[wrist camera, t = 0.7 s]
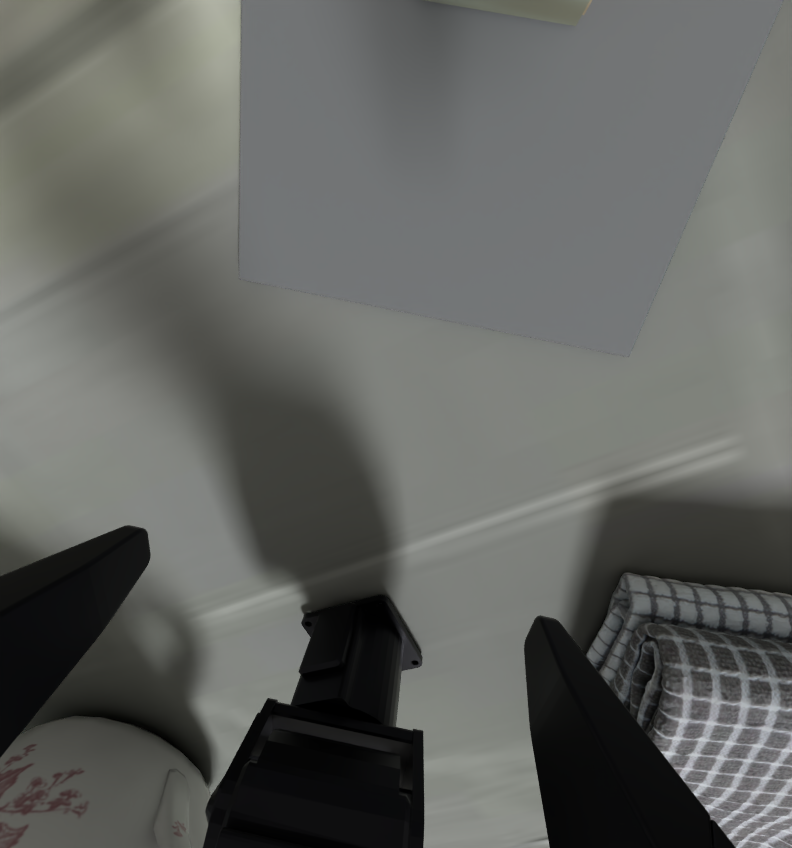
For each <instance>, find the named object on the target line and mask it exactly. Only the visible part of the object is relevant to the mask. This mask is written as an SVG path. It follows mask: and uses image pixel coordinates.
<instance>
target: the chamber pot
mask: <svg viewBox="0 0 792 848" xmlns="http://www.w3.org/2000/svg"><path fill="white" fill-rule="evenodd" d="M210 797H211V796H210V791H209V787H208V785H207V783H206V782H205V780H204V778H203V776H202V774H201V772H200V771H199V770H198V769H197V768H196V767H195V766H194V765H193V764H192V763H191V762H190V761H189V760H188V759H187V757H186V756H185V755H184V754H183V753H181V752H180V751H179V750H178V749H177V748H176V747H175V746H173V745H172V744H170V743H169V742H167V741H166V740H164V739H163V738H161V737H160V736H158V735H157V734H155V733H152V732H150V731H148V730H146V729H143V728H141V727H139V726H137V725H133V724H129V723H125V722H121V721H117V720H112V719H107V718H101V717H85V716H71V717H66V718H62V719H57V720H53V721H50V722H47V723H44V724H41V725H38V726H36V727H34V728H32V729H30V730H28V731H26V732H24V733H22V734H20V735H19V736H18V737H17V738H16V739H15V740H14V742H13V743H12V744H11V745H10V747H9V748H8V749H7V750H6V752H5V753H4V754H3V755H2V756H1V758H0V848H203V845H204V841H205V836H206V832H207V828H208V822H207V818H206V814H205V810H206V806H207V803H208V801H209V799H210Z"/></svg>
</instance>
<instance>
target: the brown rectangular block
mask: <svg viewBox="0 0 792 848" xmlns="http://www.w3.org/2000/svg"><path fill="white" fill-rule="evenodd" d="M424 1H430V2H436V3H442V4H448V5H454V6H460V7H466V8H471V9H477V10H483V11H489V12H495V13H501V14H507V15H513V16H519V17H525V18H530V19H536V20H542V21H548V22H554V23H560V24H566V25H572V26H576V25H577V23H578V21H579V19H580V18H581V16H582V15H584V14H585V13H586V11H587V9H588V7H589V5H590V4H591V2H592V0H424Z"/></svg>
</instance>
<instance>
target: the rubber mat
mask: <svg viewBox="0 0 792 848" xmlns="http://www.w3.org/2000/svg"><path fill="white" fill-rule="evenodd" d="M783 1H784V0H592V2H591V4H590V5H589V7H588V9H587V11H586V13H585V14H584V15H582V16H581V18H580V19H579V21H578V23H577V25H576V26H572V25H566V24H560V23H554V22H548V21H542V20H536V19H530V18H525V17H519V16H513V15H507V14H501V13H495V12H489V11H483V10H477V9H471V8H466V7H460V6H454V5H448V4H442V3H436V2H430V1H424V0H242V1H241V102H240V203H239V279H240V280H245V281H250V282H255V283H260V284H265V285H270V286H275V287H280V288H285V289H290V290H295V291H300V292H305V293H310V294H315V295H320V296H325V297H330V298H335V299H340V300H345V301H350V302H355V303H360V304H365V305H370V306H375V307H380V308H385V309H390V310H395V311H400V312H405V313H410V314H415V315H420V316H425V317H430V318H435V319H440V320H445V321H450V322H455V323H460V324H465V325H470V326H475V327H480V328H485V329H490V330H495V331H500V332H505V333H510V334H515V335H520V336H525V337H530V338H535V339H540V340H545V341H550V342H555V343H560V344H565V345H570V346H575V347H580V348H585V349H590V350H595V351H600V352H605V353H610V354H615V355H620V356H625V357H629V356H630V354H631V351H632V349H633V347H634V344H635V342H636V340H637V338H638V335H639V333H640V331H641V328H642V326H643V324H644V321H645V319H646V317H647V314H648V312H649V310H650V308H651V305H652V303H653V301H654V298H655V296H656V294H657V291H658V289H659V287H660V284H661V282H662V280H663V278H664V275H665V273H666V271H667V268H668V266H669V264H670V261H671V259H672V257H673V254H674V252H675V250H676V248H677V245H678V243H679V241H680V238H681V236H682V234H683V231H684V229H685V227H686V224H687V222H688V220H689V218H690V215H691V213H692V211H693V208H694V206H695V204H696V201H697V199H698V197H699V194H700V192H701V190H702V188H703V185H704V183H705V181H706V178H707V176H708V174H709V171H710V169H711V167H712V164H713V162H714V160H715V158H716V155H717V153H718V151H719V148H720V146H721V144H722V141H723V139H724V137H725V134H726V132H727V130H728V128H729V125H730V123H731V121H732V118H733V116H734V114H735V111H736V109H737V107H738V104H739V102H740V100H741V98H742V95H743V93H744V91H745V88H746V86H747V84H748V81H749V79H750V77H751V74H752V72H753V70H754V68H755V65H756V63H757V61H758V58H759V56H760V54H761V51H762V49H763V47H764V44H765V42H766V40H767V38H768V35H769V33H770V31H771V28H772V26H773V24H774V21H775V19H776V17H777V15H778V12H779V10H780V8H781V5H782V3H783Z"/></svg>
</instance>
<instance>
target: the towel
mask: <svg viewBox="0 0 792 848" xmlns="http://www.w3.org/2000/svg"><path fill="white" fill-rule="evenodd" d="M586 657H587V658H588V659H589V661H590V662H591V663H592V664H593V666H594V667H595V668H596V670H597V671H598V672H599V673H600V675H601V676H602V677H603V678H604V680H605V681H606V682H607V684H608V685H609V686H610V687H611V689H612V690H613V691H614V693H615V694H616V695H617V696H618V698H619V699H620V700H621V701H622V703H623V704H624V705H625V707H626V708H627V709H628V710H629V712H630V713H631V714H632V716H633V717H634V718H635V719H636V721H637V722H638V723H639V724H640V726H641V727H642V728H643V730H644V731H645V732H646V733H647V735H648V736H649V737H650V739H651V740H652V741H653V742H654V744H655V745H656V746H657V747H658V749H659V750H660V751H661V753H662V754H663V755H664V756H665V758H666V759H667V760H668V762H669V763H670V764H671V765H672V767H673V768H674V769H675V770H676V772H677V773H678V774H679V776H680V777H681V778H682V779H683V781H684V782H685V783H686V785H687V786H688V787H689V788H690V790H691V791H692V792H693V793H694V795H695V796H696V797H697V799H698V800H699V801H700V802H701V804H702V805H703V806H704V808H705V809H706V810H707V811H708V813H709V814H710V818H711V820H714V821H715V822H716V823H717V824H718V825H719V826H720V828H721V829H722V830H723V832H724V833H725V834H726V835H727V837H728V838H729V839H730V841H731V842H732V843H733V844H734V846H735V847H736V848H792V596H791V595H788V594H785V593H779V592H774V593H770V592H766V591H763V590H753V589H749V590H746V589H743V588H739V587H722V586H717V585H701V584H698V583H689V582H680V581H678V580H672V579H660V578H658V577H654V576H640V575H637V574H632V573H624V574H623V575H622V576H621V579H620V581H619V584H618V586H617V588H616V589H615V591H614V592H613V594H612V598H611V602H610V605H609V608H608V613H607V616H606V619H605V620H604V623H603V625H602V627H601V629H600V630H599V632H598V634H597V636H596V638H595V640H594V641H593V643H592V644H591V646H590V648H589V650H588V652H587V653H586Z"/></svg>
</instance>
